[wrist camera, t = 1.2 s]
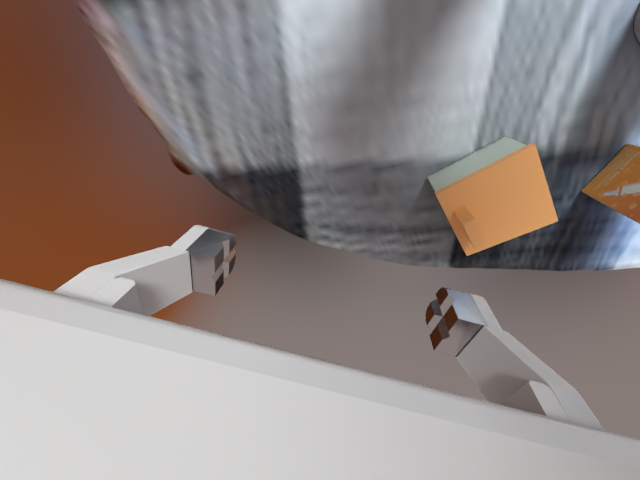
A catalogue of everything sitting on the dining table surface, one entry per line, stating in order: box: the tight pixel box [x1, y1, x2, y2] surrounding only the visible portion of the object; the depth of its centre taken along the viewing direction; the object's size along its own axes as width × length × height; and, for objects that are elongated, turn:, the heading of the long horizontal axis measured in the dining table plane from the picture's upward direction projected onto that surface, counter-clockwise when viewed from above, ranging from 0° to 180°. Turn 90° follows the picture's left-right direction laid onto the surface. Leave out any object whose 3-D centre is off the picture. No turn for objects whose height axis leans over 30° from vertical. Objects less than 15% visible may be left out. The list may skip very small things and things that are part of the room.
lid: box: [434, 143, 558, 256], centre depth 36 cm, size 13×13×6 cm
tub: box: [427, 136, 526, 192], centre depth 41 cm, size 12×12×7 cm
